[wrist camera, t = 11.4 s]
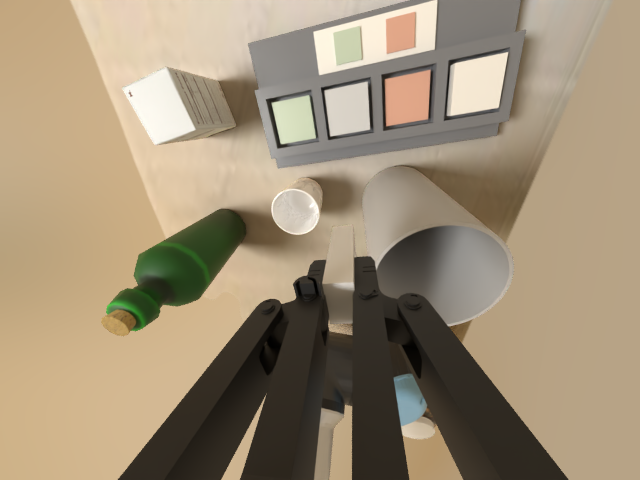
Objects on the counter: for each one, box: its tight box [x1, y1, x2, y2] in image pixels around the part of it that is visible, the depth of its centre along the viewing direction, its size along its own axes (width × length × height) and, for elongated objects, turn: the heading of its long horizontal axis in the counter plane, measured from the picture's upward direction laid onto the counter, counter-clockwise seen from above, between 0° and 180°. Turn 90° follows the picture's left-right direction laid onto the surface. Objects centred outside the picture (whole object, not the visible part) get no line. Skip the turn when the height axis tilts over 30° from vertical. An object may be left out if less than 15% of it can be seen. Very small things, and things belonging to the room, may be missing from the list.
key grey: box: [325, 82, 370, 136], centre depth 34 cm, size 6×6×2 cm
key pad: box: [248, 0, 526, 168], centre depth 34 cm, size 18×36×4 cm, turn 99°
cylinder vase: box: [362, 166, 514, 326], centre depth 33 cm, size 12×12×25 cm
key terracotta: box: [384, 70, 430, 126], centre depth 33 cm, size 6×6×2 cm
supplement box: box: [122, 67, 236, 145], centre depth 35 cm, size 7×7×13 cm
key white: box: [446, 52, 508, 116], centre depth 30 cm, size 6×6×2 cm
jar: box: [401, 406, 437, 439], centre depth 61 cm, size 12×12×15 cm
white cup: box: [272, 178, 323, 235], centre depth 41 cm, size 8×8×10 cm
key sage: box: [272, 95, 317, 144], centre depth 37 cm, size 6×6×2 cm
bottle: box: [102, 209, 246, 336], centre depth 39 cm, size 11×11×28 cm
